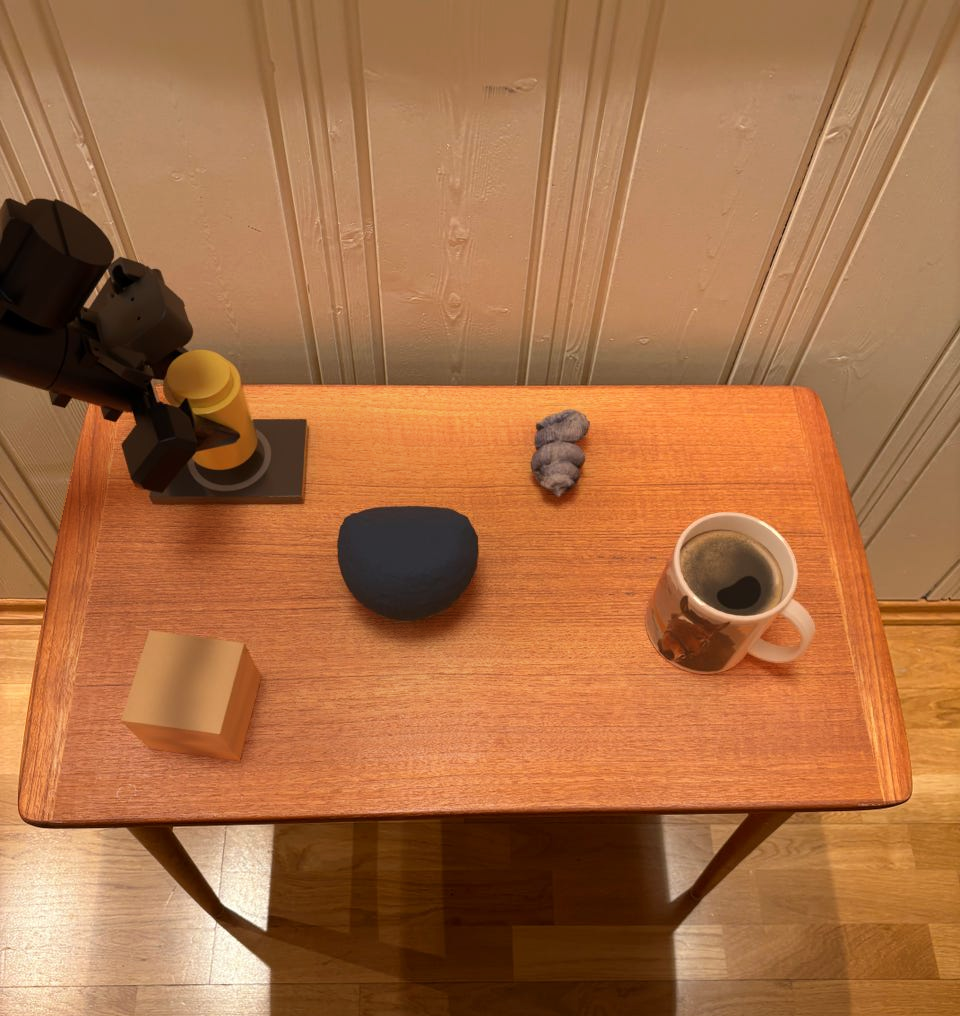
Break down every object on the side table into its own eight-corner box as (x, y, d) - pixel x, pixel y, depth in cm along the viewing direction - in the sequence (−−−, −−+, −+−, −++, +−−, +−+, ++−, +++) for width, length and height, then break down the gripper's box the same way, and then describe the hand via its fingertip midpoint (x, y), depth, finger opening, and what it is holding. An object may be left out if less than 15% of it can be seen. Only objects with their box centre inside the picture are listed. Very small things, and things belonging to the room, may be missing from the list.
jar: (206, 481, 78) (179, 416, 70) (175, 432, 80) (145, 363, 72) (270, 450, 80) (251, 383, 72) (237, 403, 82) (215, 333, 74)
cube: (148, 748, 71) (119, 720, 65) (174, 664, 75) (149, 629, 68) (239, 761, 71) (219, 734, 65) (261, 676, 74) (244, 642, 68)
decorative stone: (488, 630, 77) (494, 576, 68) (355, 654, 76) (343, 602, 67) (462, 520, 82) (465, 455, 73) (336, 539, 80) (322, 476, 71)
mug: (731, 563, 81) (772, 496, 71) (790, 677, 76) (842, 622, 66) (627, 592, 79) (655, 528, 69) (681, 711, 75) (718, 660, 65)
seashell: (551, 431, 88) (551, 517, 84) (522, 403, 84) (521, 491, 80) (597, 413, 85) (600, 501, 81) (570, 383, 81) (571, 473, 77)
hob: (152, 504, 81) (148, 496, 80) (163, 426, 85) (159, 417, 84) (303, 503, 82) (301, 495, 81) (308, 426, 86) (306, 417, 84)
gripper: (129, 370, 57) (313, 431, 69) (73, 183, 64) (249, 269, 76) (54, 474, 63) (236, 514, 75) (10, 293, 70) (183, 356, 82)
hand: (227, 409), depth 77 cm, fingers closed on jar, 6 cm apart
